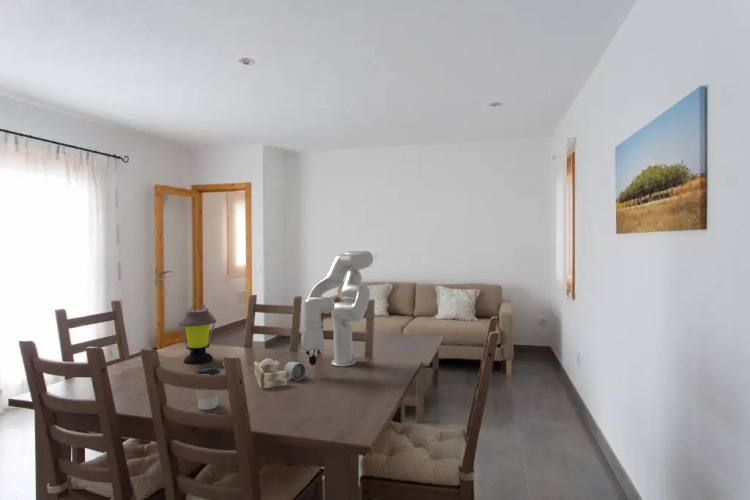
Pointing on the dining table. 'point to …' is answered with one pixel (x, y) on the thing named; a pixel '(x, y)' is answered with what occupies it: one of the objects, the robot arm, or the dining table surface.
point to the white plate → (267, 362)
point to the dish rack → (269, 375)
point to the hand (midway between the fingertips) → (312, 364)
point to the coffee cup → (207, 391)
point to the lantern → (197, 335)
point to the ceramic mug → (295, 370)
